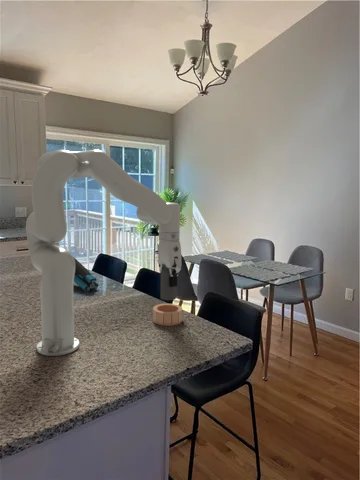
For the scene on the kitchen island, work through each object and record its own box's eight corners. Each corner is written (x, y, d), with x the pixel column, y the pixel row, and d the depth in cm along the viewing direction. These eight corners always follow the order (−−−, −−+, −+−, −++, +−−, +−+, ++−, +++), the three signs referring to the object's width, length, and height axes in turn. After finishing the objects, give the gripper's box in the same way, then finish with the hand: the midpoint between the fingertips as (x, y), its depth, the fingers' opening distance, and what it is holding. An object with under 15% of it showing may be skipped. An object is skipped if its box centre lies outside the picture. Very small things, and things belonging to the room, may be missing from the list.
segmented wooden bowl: (182, 326, 135) (183, 313, 135) (152, 325, 135) (152, 313, 134) (181, 315, 146) (181, 303, 145) (153, 315, 146) (153, 303, 145)
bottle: (157, 297, 139) (157, 258, 137) (168, 294, 143) (169, 256, 141) (167, 301, 135) (168, 261, 133) (179, 298, 139) (180, 259, 137)
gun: (82, 305, 175) (87, 276, 170) (55, 280, 191) (59, 253, 187) (97, 301, 181) (101, 274, 176) (69, 277, 197) (73, 251, 192)
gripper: (190, 239, 131) (189, 288, 133) (166, 233, 145) (165, 277, 148) (172, 240, 127) (171, 291, 129) (149, 234, 141) (148, 280, 144)
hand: (168, 283), depth 138 cm, fingers closed on bottle, 5 cm apart
